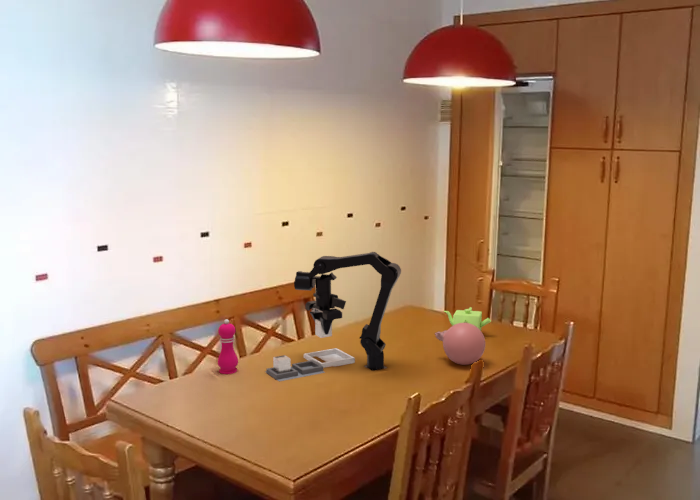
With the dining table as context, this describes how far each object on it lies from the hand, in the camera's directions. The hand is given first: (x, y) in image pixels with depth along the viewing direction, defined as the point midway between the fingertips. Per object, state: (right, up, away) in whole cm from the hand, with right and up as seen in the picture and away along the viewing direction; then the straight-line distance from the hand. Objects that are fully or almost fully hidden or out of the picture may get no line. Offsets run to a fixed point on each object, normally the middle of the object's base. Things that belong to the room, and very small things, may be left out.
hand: (323, 332), depth 271 cm
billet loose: (0, -1, 0) cm, 1 cm away
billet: (-14, -13, -12) cm, 23 cm away
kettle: (+59, -6, +40) cm, 71 cm away
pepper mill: (-34, -14, -8) cm, 37 cm away
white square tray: (+2, -11, +4) cm, 12 cm away
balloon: (+50, -12, +4) cm, 51 cm away
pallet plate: (-10, -14, -9) cm, 19 cm away
